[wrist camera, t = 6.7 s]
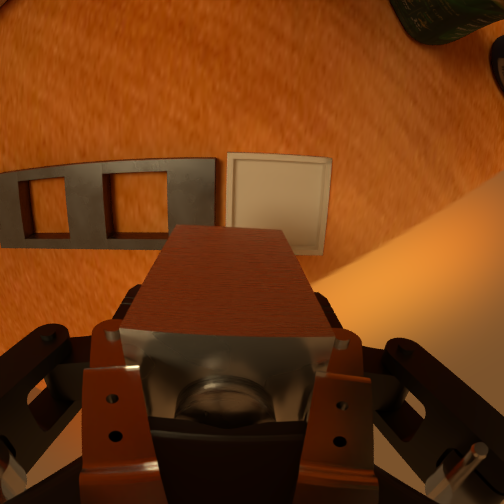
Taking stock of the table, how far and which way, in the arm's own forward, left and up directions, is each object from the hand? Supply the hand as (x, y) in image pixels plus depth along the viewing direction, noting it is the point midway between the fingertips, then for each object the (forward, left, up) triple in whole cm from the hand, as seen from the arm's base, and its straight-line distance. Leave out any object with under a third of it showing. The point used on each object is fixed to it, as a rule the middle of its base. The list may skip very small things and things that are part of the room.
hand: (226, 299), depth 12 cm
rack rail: (0, -13, -17) cm, 22 cm away
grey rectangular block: (0, 0, -2) cm, 2 cm away
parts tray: (0, +4, -17) cm, 18 cm away
